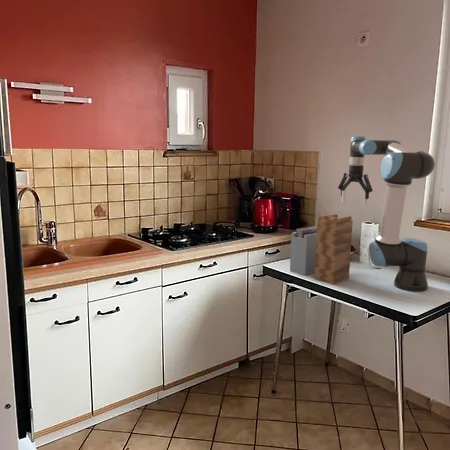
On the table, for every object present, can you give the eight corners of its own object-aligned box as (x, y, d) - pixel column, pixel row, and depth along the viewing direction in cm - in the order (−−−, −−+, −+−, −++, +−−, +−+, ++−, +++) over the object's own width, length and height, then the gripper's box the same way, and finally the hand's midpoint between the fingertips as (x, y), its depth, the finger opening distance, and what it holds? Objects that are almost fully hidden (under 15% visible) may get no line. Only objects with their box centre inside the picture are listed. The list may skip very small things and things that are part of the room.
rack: (320, 270, 246) (322, 232, 242) (305, 275, 237) (306, 235, 233) (305, 266, 254) (307, 229, 250) (289, 271, 244) (291, 232, 240)
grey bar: (330, 233, 250) (330, 226, 249) (302, 238, 236) (303, 230, 235) (322, 231, 254) (323, 224, 253) (295, 236, 240) (295, 229, 239)
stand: (348, 278, 232) (353, 214, 226) (333, 284, 222) (337, 217, 216) (330, 274, 240) (334, 212, 234) (314, 279, 230) (317, 214, 224)
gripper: (381, 165, 244) (378, 205, 248) (340, 163, 261) (338, 200, 265) (373, 166, 239) (370, 206, 242) (333, 164, 256) (331, 201, 260)
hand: (353, 203), depth 254 cm, fingers open, 13 cm apart
